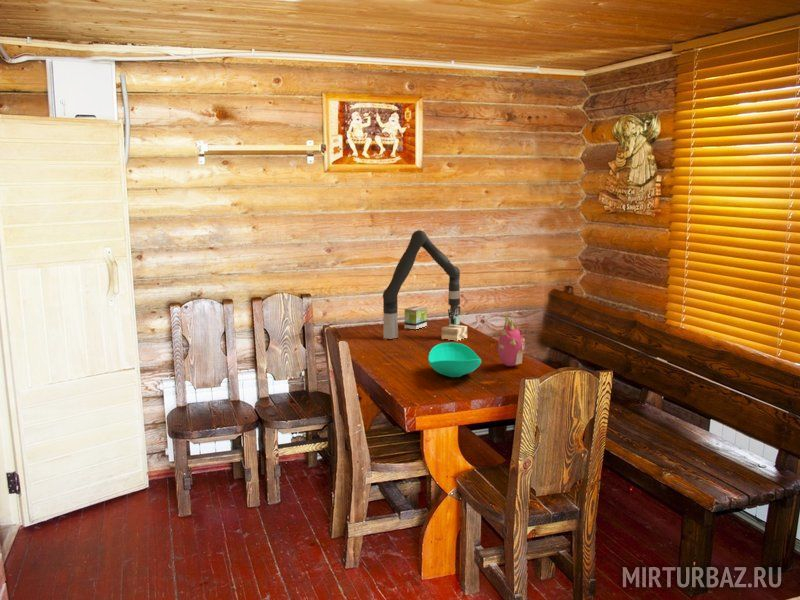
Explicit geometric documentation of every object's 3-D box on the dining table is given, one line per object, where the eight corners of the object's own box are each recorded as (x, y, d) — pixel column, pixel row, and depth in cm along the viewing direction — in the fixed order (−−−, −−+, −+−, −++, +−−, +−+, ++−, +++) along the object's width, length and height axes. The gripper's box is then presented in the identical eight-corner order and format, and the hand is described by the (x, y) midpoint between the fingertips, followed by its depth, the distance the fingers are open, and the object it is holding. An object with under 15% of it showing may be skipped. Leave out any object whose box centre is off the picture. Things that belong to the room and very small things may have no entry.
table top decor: (488, 385, 352) (488, 359, 350) (434, 387, 349) (433, 362, 347) (473, 364, 391) (472, 341, 388) (424, 366, 388) (423, 343, 386)
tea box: (416, 331, 478) (416, 309, 476) (404, 329, 484) (403, 308, 481) (427, 326, 491) (427, 306, 488) (415, 325, 496) (414, 305, 494)
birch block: (457, 341, 446) (457, 329, 444) (441, 339, 453) (441, 327, 452) (467, 338, 455) (467, 326, 454) (452, 335, 462) (451, 324, 461)
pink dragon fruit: (511, 371, 375) (512, 317, 370) (491, 367, 384) (491, 313, 379) (530, 364, 387) (530, 311, 382) (510, 360, 397) (510, 309, 391)
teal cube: (456, 325, 449) (456, 317, 448) (449, 324, 451) (449, 317, 450) (459, 323, 453) (459, 316, 452) (452, 323, 456) (452, 315, 455)
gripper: (454, 299, 441) (454, 326, 444) (464, 296, 453) (464, 321, 456) (444, 298, 445) (444, 325, 448) (453, 295, 457) (453, 320, 460)
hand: (454, 323), depth 452 cm, fingers closed on teal cube, 5 cm apart
